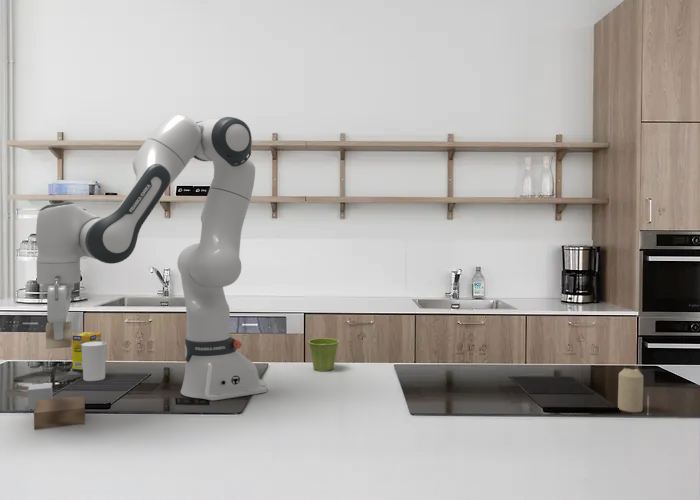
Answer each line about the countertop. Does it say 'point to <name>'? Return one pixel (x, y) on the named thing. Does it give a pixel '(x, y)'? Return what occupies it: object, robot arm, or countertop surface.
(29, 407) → the grey block
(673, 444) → the countertop surface
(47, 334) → the ash block
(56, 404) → the walnut block
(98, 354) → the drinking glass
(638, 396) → the beige jar
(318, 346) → the plant pot
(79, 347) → the supplement box
